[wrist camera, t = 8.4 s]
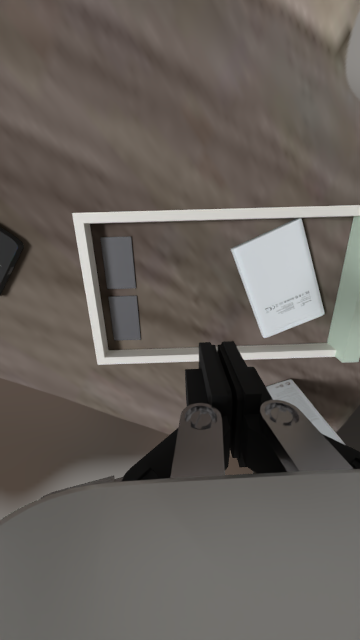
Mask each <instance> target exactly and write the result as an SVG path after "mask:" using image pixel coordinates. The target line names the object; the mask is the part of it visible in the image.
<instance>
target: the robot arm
mask: <svg viewBox="0 0 360 640" xmlns="http://www.w3.org/2000/svg"><path fill="white" fill-rule="evenodd" d="M185 381H186V402H187V407H186V408H185V409H184V410H183V411H182V413H181V416H180V422H179V428H178V429H176V430H175V431H174V432H173V433H172V434H170V435H169V436H168V437H167V438H166V439H165V440H164V441H162V442H161V443H160V444H159V445H157V446H156V447H155V448H154V449H153V450H152V451H150V452H149V453H148V454H147V455H146V456H144V457H143V458H142V459H141V460H140V461H138V462H137V463H136V464H135V465H134V466H133V467H131V468H130V470H128V471H127V473H126V474H125V475H124V477H121V478H117V479H114V476H111V477H107V478H103V479H99V480H96V481H92V482H88V483H85V484H81V485H77V486H73V487H70V488H66V489H63V490H59V491H55V492H52V493H50V494H47V495H45V496H43V497H42V498H40V499H39V500H36V501H34V502H32V503H29V504H27V505H25V506H23V507H21V508H20V509H17V510H16V511H14V512H12V513H11V514H9V515H7V516H5V517H4V518H3V519H1V520H0V640H360V452H359V451H357V450H355V449H353V448H351V447H348V446H346V445H344V444H342V443H340V442H338V441H336V440H334V439H332V438H330V437H328V436H326V435H324V434H322V433H320V431H319V430H318V429H317V428H316V427H315V426H314V425H313V424H312V423H311V422H310V421H309V419H308V418H307V417H306V416H305V415H304V414H303V413H302V412H301V411H300V410H299V409H298V408H297V407H296V406H294V405H292V404H291V403H288V402H285V401H282V400H273V399H272V397H271V395H270V394H269V392H268V390H267V388H266V387H265V385H264V383H263V381H262V380H261V378H260V376H259V375H258V373H257V371H256V369H255V368H254V367H247V365H246V363H245V362H244V360H243V358H242V356H241V354H240V352H239V350H238V348H237V347H236V345H235V343H234V341H231V342H222V344H221V345H218V348H217V349H216V347H215V345H211V343H210V342H206V343H199V369H186V370H185ZM230 450H231V454H232V457H233V458H237V460H238V463H239V467H248V468H250V469H251V470H253V474H242V475H241V474H240V475H225V470H226V469H227V467H228V462H229V454H230Z"/></svg>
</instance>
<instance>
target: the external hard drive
mask: <svg viewBox="0 0 360 640" xmlns="http://www.w3.org/2000/svg"><path fill="white" fill-rule="evenodd" d="M231 251H232V254H233V257H234V260H235V263H236V265H237V268H238V271H239V273H240V276H241V279H242V282H243V284H244V287H245V290H246V293H247V295H248V298H249V301H250V304H251V307H252V309H253V312H254V315H255V318H256V320H257V323H258V326H259V329H260V331H261V334H262V336H263V337H264V338H267V337H270V336H272V335H275V334H277V333H279V332H282V331H285V330H287V329H290V328H292V327H295V326H297V325H300V324H302V323H305V322H307V321H310V320H312V319H315V318H317V317H320V316H322V315H324V314H325V313H324V309H323V305H322V300H321V296H320V292H319V288H318V284H317V279H316V275H315V271H314V267H313V263H312V259H311V255H310V251H309V246H308V243H307V239H306V235H305V231H304V226H303V222H302V219H301V218H297V219H295V220H292V221H290V222H288V223H286V224H284V225H282V226H279V227H277V228H275V229H273V230H271V231H268V232H266V233H264V234H262V235H260V236H258V237H255V238H253V239H251V240H249V241H247V242H244V243H242V244H240V245H238V246H236V247H233V248H231Z"/></svg>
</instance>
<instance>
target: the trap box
mask: <svg viewBox="0 0 360 640" xmlns="http://www.w3.org/2000/svg"><path fill="white" fill-rule="evenodd" d="M72 215H73V221H74V227H75V233H76V239H77V245H78V251H79V257H80V262H81V268H82V274H83V280H84V286H85V292H86V298H87V304H88V310H89V316H90V322H91V327H92V333H93V339H94V345H95V351H96V357H97V363H98V365H102V364H131V363H161V362H190V361H199V347H192V348H162V349H132V350H108V343H107V337H106V330H105V323H104V316H103V310H102V303H101V296H100V289H99V283H98V276H97V269H96V262H95V255H94V249H93V242H92V235H91V228H90V224H100V223H135V222H171V221H207V220H243V219H279V218H314V217H350V216H354V218H353V223H352V227H351V232H350V237H349V242H348V247H347V251H346V256H345V261H344V266H343V270H342V275H341V280H340V285H339V289H338V294H337V299H336V304H335V308H334V313H333V318H332V323H331V327H330V332H329V337H328V342H327V343H312V344H282V345H252V346H236V347H237V348H238V350H239V352H240V354H241V356H242V358H243V360H249V359H279V358H309V357H336V358H337V359H339V360H340V361H341V362H342V363H343V362H358V361H359V357H360V205H349V206H313V207H277V208H240V209H204V210H167V211H131V212H95V213H72ZM100 239H101V246H102V253H103V261H104V268H105V275H106V283H107V289H124V288H136V284H135V273H134V262H133V252H132V241H131V237H104V238H100ZM109 305H110V312H111V320H112V327H113V334H114V340H141V338H140V327H139V316H138V305H137V296H113V297H109ZM217 348H218V347H216V349H217Z"/></svg>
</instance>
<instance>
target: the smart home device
mask: <svg viewBox="0 0 360 640" xmlns="http://www.w3.org/2000/svg"><path fill="white" fill-rule="evenodd" d="M23 247H24V245H23V243H22V242H21V241H20V240H19V239H18V238H16V237H15V236H13V235H12V234H10V233H9V232H7V231H5V230H4V229H2V228H1V227H0V294H1V292H2V290H3V288H4V286H5V284H6V282H7V280H8V278H9V276H10V274H11V272H12V270H13V268H14V266H15V264H16V262H17V260H18V258H19V256H20V254H21V252H22V249H23Z"/></svg>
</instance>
